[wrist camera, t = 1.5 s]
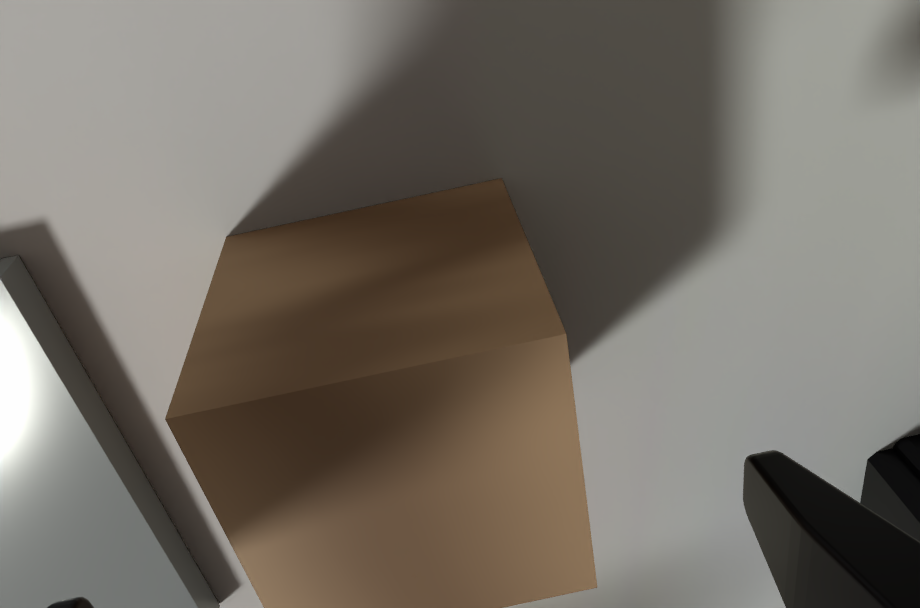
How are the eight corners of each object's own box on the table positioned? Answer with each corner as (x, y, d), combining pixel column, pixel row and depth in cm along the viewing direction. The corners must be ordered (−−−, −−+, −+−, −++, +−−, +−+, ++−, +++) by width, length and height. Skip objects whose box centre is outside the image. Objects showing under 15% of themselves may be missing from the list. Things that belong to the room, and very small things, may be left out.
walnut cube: (500, 176, 13) (565, 333, 9) (534, 390, 16) (597, 587, 12) (226, 234, 13) (165, 418, 9) (307, 438, 16) (287, 653, 12)
